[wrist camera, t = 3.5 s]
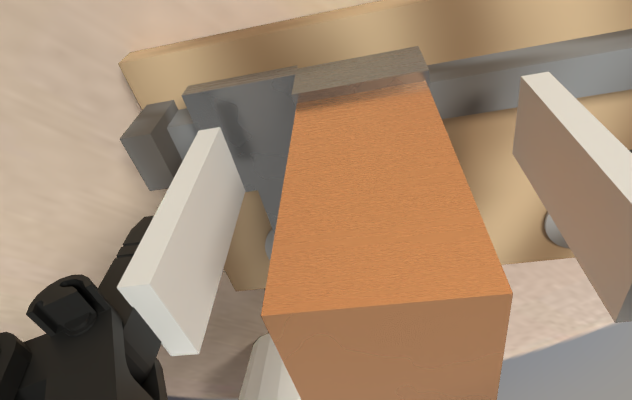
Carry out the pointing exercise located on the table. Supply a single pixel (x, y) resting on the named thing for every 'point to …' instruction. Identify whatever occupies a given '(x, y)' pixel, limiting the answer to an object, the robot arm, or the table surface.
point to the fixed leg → (251, 126)
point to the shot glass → (267, 374)
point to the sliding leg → (381, 244)
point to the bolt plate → (445, 86)
